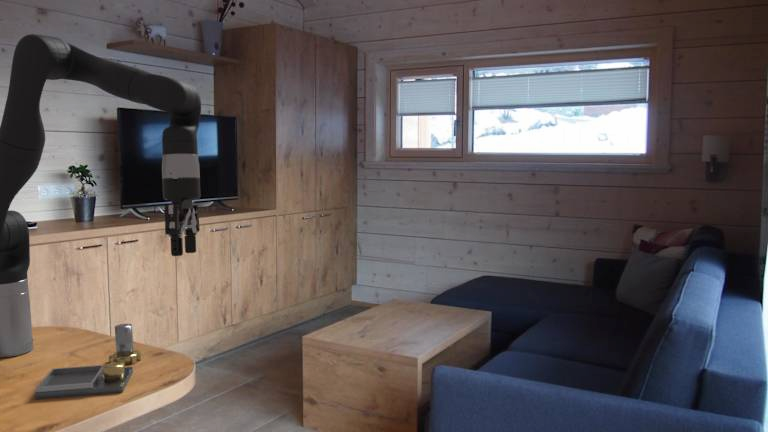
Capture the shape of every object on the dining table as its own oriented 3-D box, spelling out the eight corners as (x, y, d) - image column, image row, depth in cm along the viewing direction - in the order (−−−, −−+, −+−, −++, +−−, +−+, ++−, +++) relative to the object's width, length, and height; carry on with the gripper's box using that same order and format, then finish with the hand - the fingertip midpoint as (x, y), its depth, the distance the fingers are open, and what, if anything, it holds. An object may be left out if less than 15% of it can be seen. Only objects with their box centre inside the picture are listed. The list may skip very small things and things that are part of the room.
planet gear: (106, 366, 143) (104, 331, 142) (113, 356, 149) (110, 322, 148) (138, 364, 144) (136, 329, 143) (143, 354, 151) (141, 320, 150)
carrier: (35, 399, 126) (33, 380, 125) (52, 378, 137) (51, 361, 136) (122, 392, 129) (121, 374, 128) (133, 372, 140) (131, 355, 139)
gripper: (175, 179, 143) (178, 252, 144) (150, 175, 129) (153, 257, 129) (209, 177, 143) (211, 251, 143) (187, 174, 129) (190, 256, 129)
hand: (184, 254), depth 136 cm, fingers open, 8 cm apart
